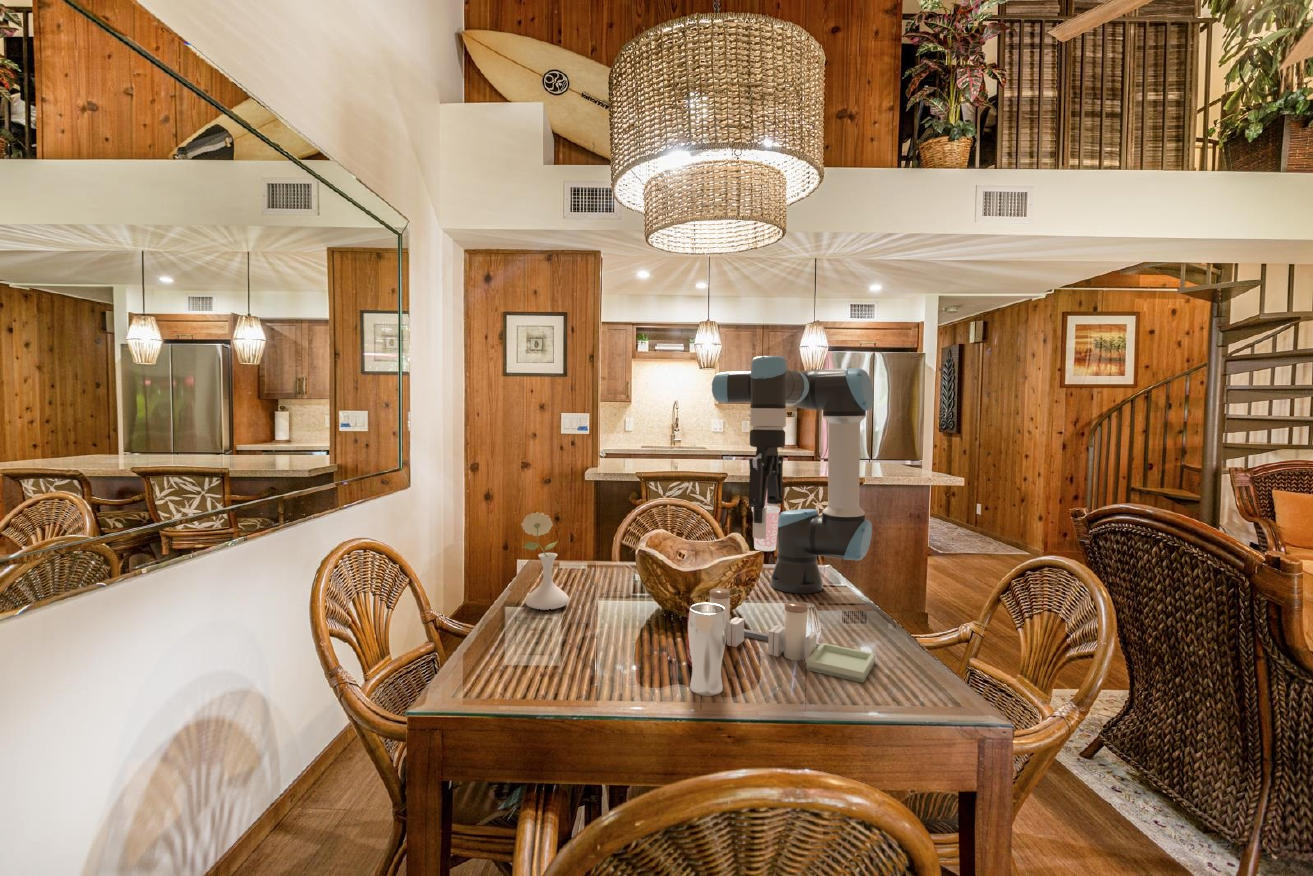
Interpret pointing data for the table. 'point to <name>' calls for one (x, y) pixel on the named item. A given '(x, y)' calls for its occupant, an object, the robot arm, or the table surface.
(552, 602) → the flower in vase
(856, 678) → the tray
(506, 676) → the table surface
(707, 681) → the beer glass
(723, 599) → the cylinder
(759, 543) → the beverage cup
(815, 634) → the holder
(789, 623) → the cylinder
